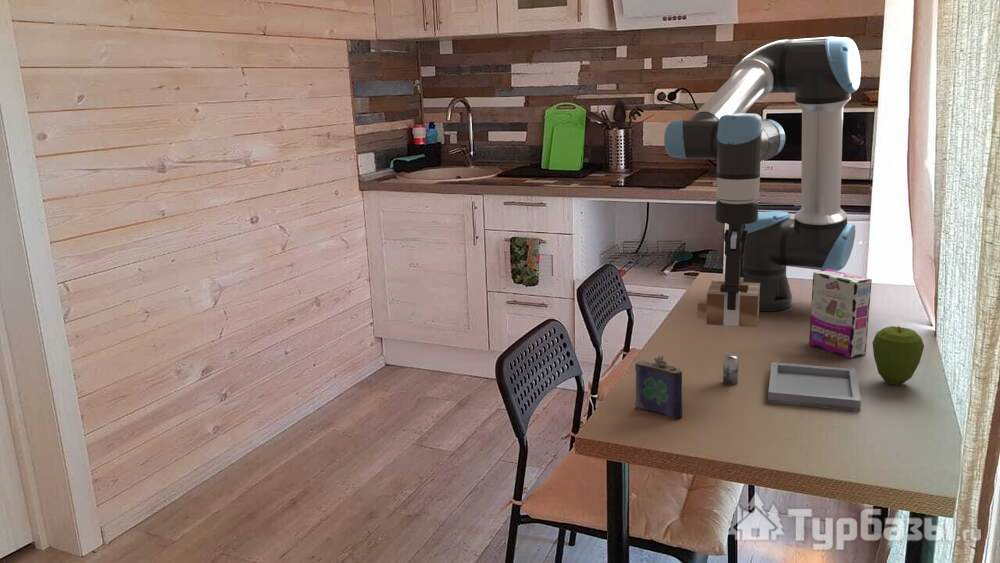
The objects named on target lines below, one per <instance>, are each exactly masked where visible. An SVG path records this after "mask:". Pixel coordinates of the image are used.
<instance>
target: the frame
mask: <svg viewBox="0 0 1000 563" xmlns="http://www.w3.org/2000/svg"><path fill="white" fill-rule="evenodd" d="M724 285H725V280H723V281H722V280H721V281H720V280H718V281H717V280H711V282H710V285H709V288H708V290H707V293H706V299H699V300H698V301H697V314H696V315H697V316H696V317H697V319H701V320H702V319H703V320H706V322H705V323H706V324H705V325H710V326H724V325H723V323H724V292H721V288H724ZM729 285H730V284H729ZM739 288H740V308H739V326H738V327H741V328H743V327H744V328H758V321H759V315H760V311H759V299H760V283H746V282H740V284H739Z"/></svg>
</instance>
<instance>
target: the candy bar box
mask: <svg viewBox="0 0 1000 563" xmlns="http://www.w3.org/2000/svg"><path fill="white" fill-rule="evenodd" d="M812 274H813V275H812V288H811V289H812V293H811V304H810V306H811V309H810V320H809V321H810V323H809V337H808V338H809V339H808V344H809V345H811V346H812V347H813V346H814V347H816V348H819V349H822V350H825V351H828V352H831V353H834V354H837V355H840V356H842V357H845V358H847V359H854V358H858V357H862V356H865V355H866V353H867V345H868V344H867V343H868V331H869V330H868V329H869V328H868V327H869V317H870V316H869V315H870V305H871V303H870V302H871V293H872V291H871V290H872V281H873V280H872V278H867V277H863V276H858V275H855V274H850V273H845V272H842V271H841V272H840V271H833V270H829V269H828V270H822V271H821V270H817V271H813V273H812Z"/></svg>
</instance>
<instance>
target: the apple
mask: <svg viewBox="0 0 1000 563" xmlns="http://www.w3.org/2000/svg"><path fill="white" fill-rule="evenodd" d="M924 348H925V344H924V342H923V339H922V337H921V335H919V334H918V333H917V332H916V331H915V330H914V329H911V328H907V327H902V326H900V325H898V326H887V327H884V328H882V329H880V330H879V331H877V332H876V334H875V336H874V338H873V341H872V349H873V350H872V351H873V352H872V353H873V358H874V361H875V366H876V370H877V373H878V374H879V376H880V377H881V378H882V380H883V381H884V382H885V383H886V384H889V385H898V386H901V385H903V384H904V383H905V382H906V383H907V381H909V380H910V379H912V377H913V375H914V374H915V372H916V370H917V369H918V366H919V364H920V363H921V358H922V356H923V352H924Z"/></svg>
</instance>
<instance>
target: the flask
mask: <svg viewBox="0 0 1000 563" xmlns="http://www.w3.org/2000/svg"><path fill="white" fill-rule="evenodd" d="M663 358H665V356H664V355H658V356H657V357H653V360H654V361H655V362H652V361H647V360H638V361H636V362H635V408H636V409H637V410H639V411H641V412H646V413H648V414H651V415H656V416H659V417H663V418H666V419H670V420H672V421H680V420H682V419H683V398H682V397H683V371H682V370H681V369H680V368H676V366H674V365H668V363H667V362H666V360H665V361H664V360H663Z"/></svg>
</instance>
